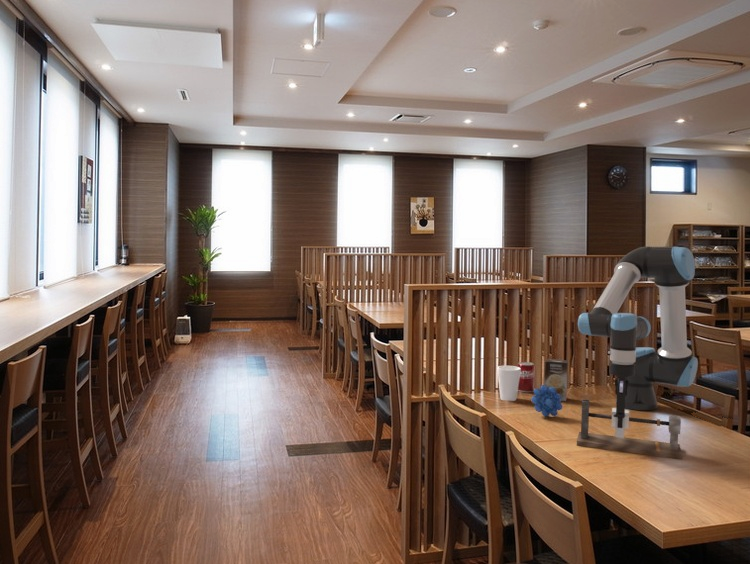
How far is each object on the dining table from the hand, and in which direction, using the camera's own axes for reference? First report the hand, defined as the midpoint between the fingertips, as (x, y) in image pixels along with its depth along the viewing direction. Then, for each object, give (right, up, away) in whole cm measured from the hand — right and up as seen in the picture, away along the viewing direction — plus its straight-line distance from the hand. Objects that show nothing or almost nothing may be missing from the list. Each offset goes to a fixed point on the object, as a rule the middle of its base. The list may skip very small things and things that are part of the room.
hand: (619, 434), depth 191 cm
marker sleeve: (0, +3, 0) cm, 3 cm away
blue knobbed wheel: (-14, -2, +31) cm, 34 cm away
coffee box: (-3, 0, +58) cm, 58 cm away
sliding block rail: (+2, -4, -1) cm, 5 cm away
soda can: (-12, +1, +71) cm, 72 cm away
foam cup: (-23, 0, +57) cm, 62 cm away
